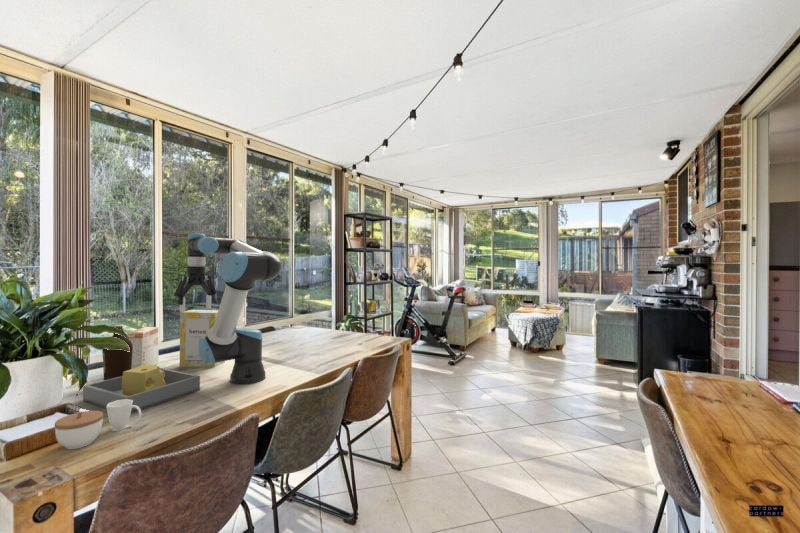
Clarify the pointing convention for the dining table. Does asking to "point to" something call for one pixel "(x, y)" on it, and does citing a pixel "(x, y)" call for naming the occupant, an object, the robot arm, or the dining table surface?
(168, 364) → the dining table surface
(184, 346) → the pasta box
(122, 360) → the olive oil
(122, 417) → the cup
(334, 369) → the dining table surface
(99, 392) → the tray
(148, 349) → the coffeecake box
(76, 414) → the lidded jar
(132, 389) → the cheese
